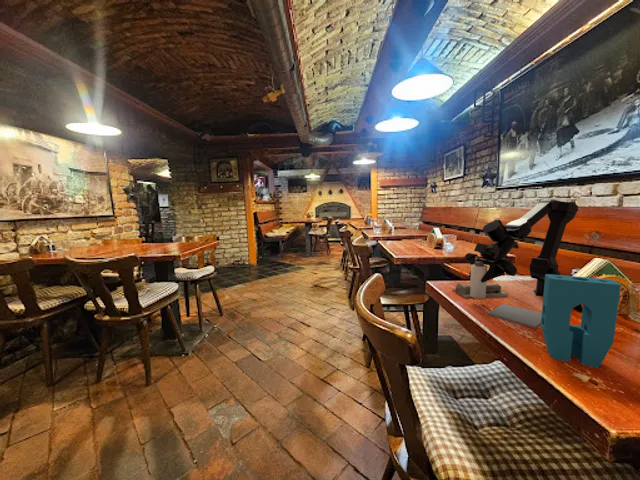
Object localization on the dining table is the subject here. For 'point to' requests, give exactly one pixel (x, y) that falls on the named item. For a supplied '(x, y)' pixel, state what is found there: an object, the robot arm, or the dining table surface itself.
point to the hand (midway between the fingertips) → (475, 279)
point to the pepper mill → (478, 280)
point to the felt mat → (517, 315)
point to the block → (595, 323)
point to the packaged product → (491, 290)
